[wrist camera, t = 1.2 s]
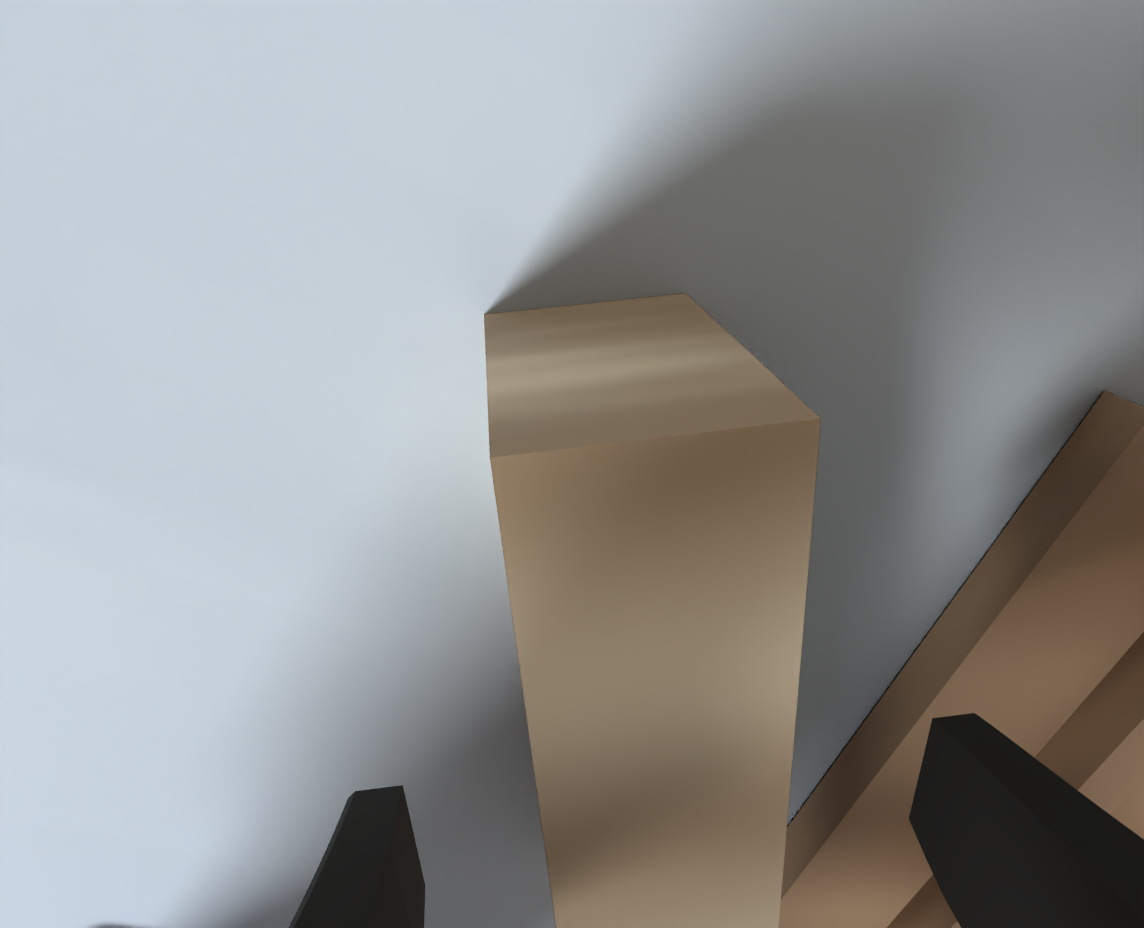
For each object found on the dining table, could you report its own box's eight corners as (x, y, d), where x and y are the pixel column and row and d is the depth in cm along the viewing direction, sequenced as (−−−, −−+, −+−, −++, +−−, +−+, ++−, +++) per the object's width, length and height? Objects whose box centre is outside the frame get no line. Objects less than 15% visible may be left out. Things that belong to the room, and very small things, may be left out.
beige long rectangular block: (695, 821, 17) (776, 1087, 12) (554, 843, 16) (583, 1123, 12) (695, 288, 11) (842, 416, 7) (484, 311, 11) (489, 458, 6)
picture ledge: (1022, 1080, 24) (1066, 1160, 22) (629, 1045, 20) (644, 1137, 18) (1572, 591, 16) (1707, 653, 14) (1105, 390, 12) (1209, 439, 11)
